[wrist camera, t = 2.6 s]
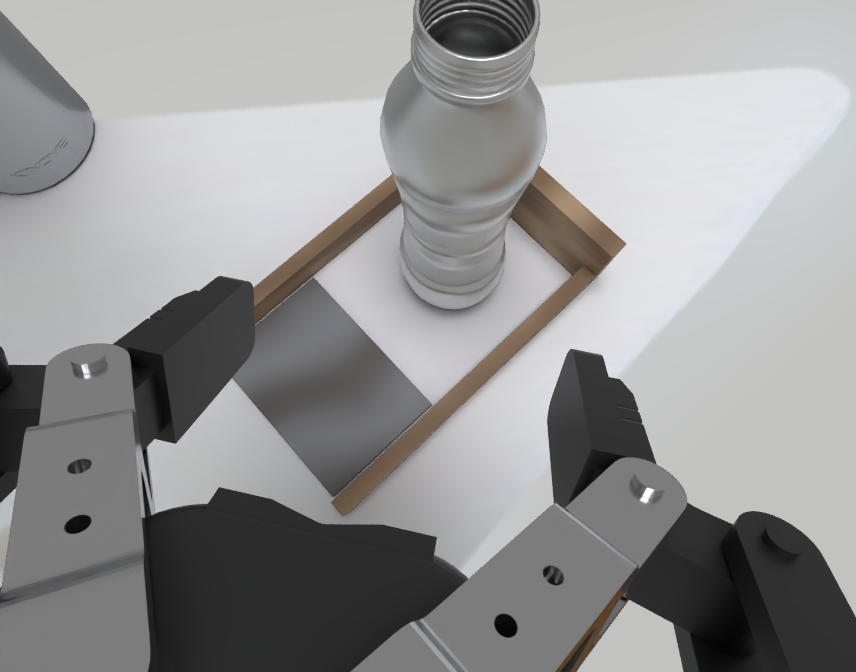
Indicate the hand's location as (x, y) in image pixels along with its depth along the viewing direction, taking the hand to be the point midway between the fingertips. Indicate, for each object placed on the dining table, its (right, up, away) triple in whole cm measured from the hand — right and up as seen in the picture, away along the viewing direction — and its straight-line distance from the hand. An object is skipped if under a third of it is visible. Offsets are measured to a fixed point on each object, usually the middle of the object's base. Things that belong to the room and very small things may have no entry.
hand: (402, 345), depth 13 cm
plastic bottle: (+2, +5, +21) cm, 22 cm away
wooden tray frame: (-1, +2, +20) cm, 21 cm away
